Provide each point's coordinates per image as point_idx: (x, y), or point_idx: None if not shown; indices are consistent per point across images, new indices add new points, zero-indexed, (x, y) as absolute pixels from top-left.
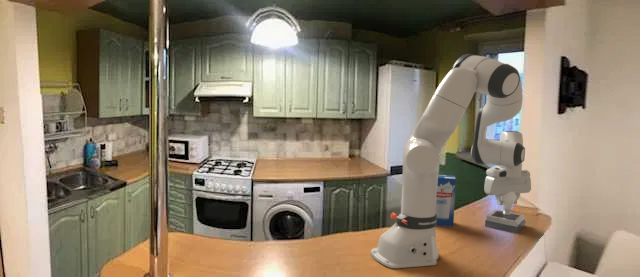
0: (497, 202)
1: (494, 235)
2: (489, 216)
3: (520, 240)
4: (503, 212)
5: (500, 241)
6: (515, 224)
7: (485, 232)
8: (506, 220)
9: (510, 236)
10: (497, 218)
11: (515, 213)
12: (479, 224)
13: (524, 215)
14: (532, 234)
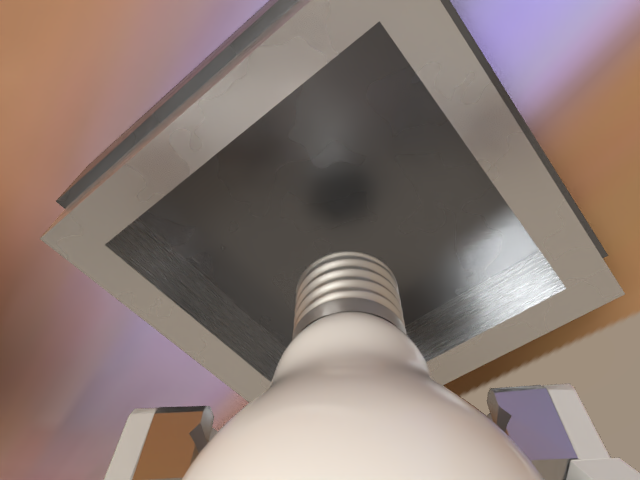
0: (124, 443)
1: (84, 369)
2: (75, 264)
3: None
4: (297, 298)
5: (80, 452)
6: None
7: (26, 308)
8: (236, 386)
9: (213, 399)
10: (160, 327)
11: (571, 213)
12: (42, 91)
13: (621, 292)
14: None
